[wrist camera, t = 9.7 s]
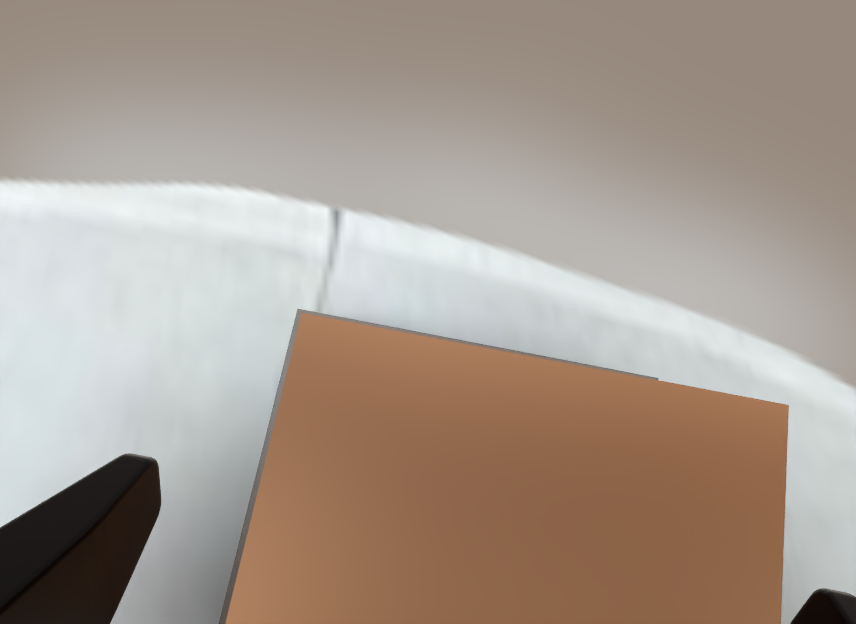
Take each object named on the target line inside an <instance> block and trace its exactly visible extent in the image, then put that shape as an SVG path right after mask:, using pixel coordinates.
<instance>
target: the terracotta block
mask: <svg viewBox="0 0 856 624" xmlns="http://www.w3.org/2000/svg"><path fill="white" fill-rule="evenodd" d="M788 409H789V405H785V404H780V403H774V402H769V401H764V400H759V399H753V398H748V397H743V396H737V395H732V394H727V393H722V392H716V391H711V390H706V389H701V388H695V387H690V386H685V385H680V384H674V383H669V382H664V381H658V380H653V379H648V378H643V377H637V376H632V375H627V374H622V373H616V372H611V371H606V370H601V369H595V368H590V367H585V366H579V365H574V364H569V363H564V362H558V361H553V360H548V359H543V358H537V357H532V356H527V355H522V354H516V353H511V352H506V351H500V350H495V349H490V348H485V347H479V346H474V345H469V344H464V343H458V342H453V341H448V340H443V339H437V338H432V337H427V336H421V335H416V334H411V333H406V332H400V331H395V330H390V329H385V328H379V327H374V326H369V325H364V324H358V323H353V322H348V321H342V320H337V319H332V318H327V317H321V316H316V315H311V314H306V313H301V317H300V321H299V326H298V330H297V334H296V338H295V342H294V346H293V350H292V354H291V358H290V362H289V366H288V370H287V374H286V379H285V383H284V387H283V391H282V395H281V399H280V403H279V407H278V411H277V415H276V419H275V423H274V427H273V432H272V436H271V440H270V444H269V448H268V452H267V456H266V460H265V464H264V468H263V472H262V476H261V480H260V484H259V489H258V493H257V497H256V501H255V505H254V509H253V513H252V517H251V521H250V525H249V529H248V533H247V537H246V542H245V546H244V550H243V554H242V558H241V562H240V566H239V570H238V574H237V578H236V582H235V586H234V590H233V595H232V599H231V603H230V607H229V611H228V615H227V619H226V623H225V624H781V600H782V573H783V545H784V518H785V491H786V464H787V437H788Z"/></svg>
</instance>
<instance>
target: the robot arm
mask: <svg viewBox="0 0 856 624" xmlns="http://www.w3.org/2000/svg"><path fill="white" fill-rule="evenodd" d="M160 507H161V491H160V478H159V467H158V463H157V461H156V460H155V459H154V458H151V457H146V456H141V455H136V454H124V455H121V456H119V457H118V458H116V459H114V460H113V461H111V462H109V463H107V464H106V465H104V466H102V467H101V468H99V469H97V470H96V471H94V472H92V473H91V474H89V475H87V476H86V477H84V478H82V479H81V480H79V481H77V482H76V483H74V484H72V485H71V486H69V487H67V488H66V489H64V490H62V491H61V492H59V493H57V494H56V495H54V496H52V497H51V498H49V499H47V500H45V501H44V502H42V503H40V504H39V505H37V506H35V507H34V508H32V509H30V510H29V511H27V512H25V513H24V514H22V515H20V516H19V517H17V518H15V519H14V520H12V521H10V522H9V523H7V524H5V525H4V526H2V527H0V624H110V622H111V620H112V618H113V616H114V614H115V612H116V610H117V608H118V605H119V603H120V601H121V599H122V596H123V594H124V592H125V590H126V587H127V585H128V583H129V581H130V578H131V576H132V574H133V572H134V569H135V567H136V565H137V563H138V560H139V558H140V556H141V554H142V551H143V549H144V547H145V545H146V542H147V540H148V538H149V536H150V533H151V531H152V529H153V527H154V524H155V522H156V520H157V517H158V515H159V511H160ZM790 624H856V597H855V596H853V595H851V594H849V593H845V592H840V591H835V590H830V589H818V590H816V591H814V592H813V593H812V595H811V596H810V597H809V599H808V600H807V601H806V603H805V604H804V605H803V607H802V608H801V609H800V611H799V612H798V613H797V615H796V616H795V617H794V619H793V620H792V622H791V623H790Z"/></svg>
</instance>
